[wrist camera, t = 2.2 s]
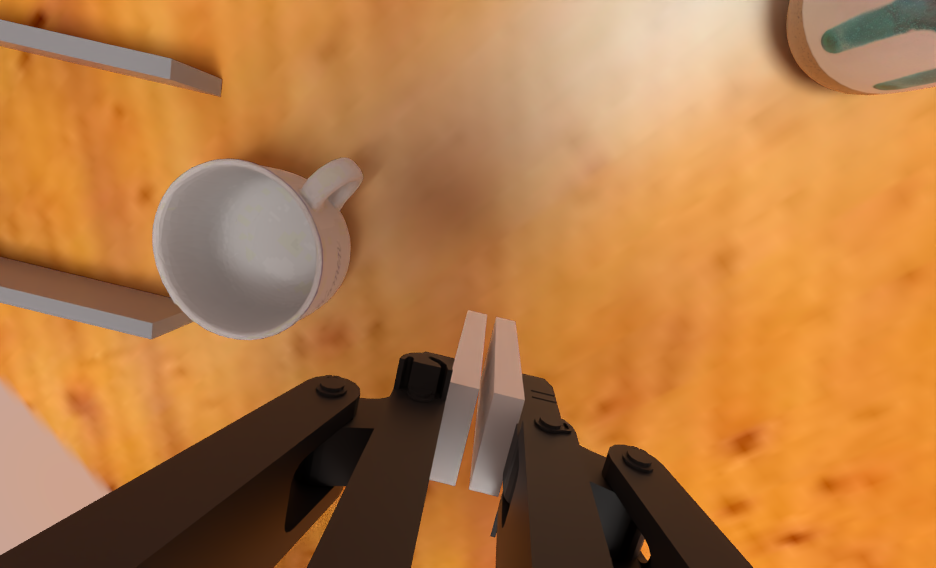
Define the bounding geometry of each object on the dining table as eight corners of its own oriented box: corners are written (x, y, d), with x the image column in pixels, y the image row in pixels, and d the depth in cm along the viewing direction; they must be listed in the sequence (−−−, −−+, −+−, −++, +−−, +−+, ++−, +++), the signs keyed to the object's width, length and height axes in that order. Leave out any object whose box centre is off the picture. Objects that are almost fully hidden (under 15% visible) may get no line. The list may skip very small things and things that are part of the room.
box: (199, 319, 36) (151, 339, 31) (-36, 262, 36) (-120, 273, 31) (222, 79, 32) (171, 58, 27) (-43, 18, 32) (-140, -13, 27)
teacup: (271, 329, 35) (207, 368, 28) (199, 205, 34) (109, 209, 26) (425, 254, 33) (402, 274, 25) (356, 119, 32) (309, 95, 24)
